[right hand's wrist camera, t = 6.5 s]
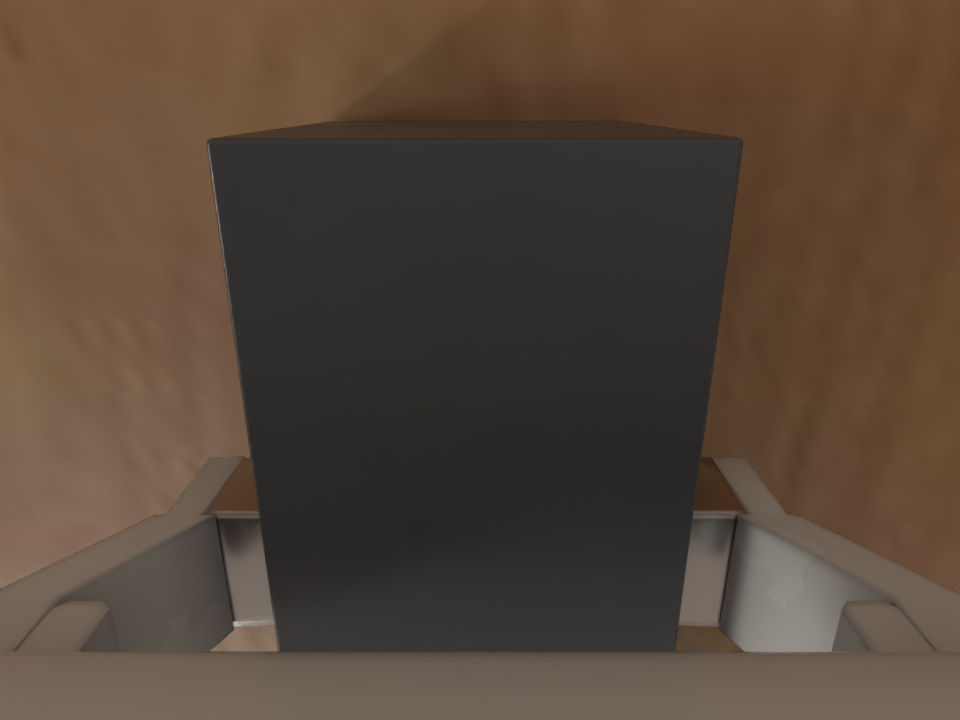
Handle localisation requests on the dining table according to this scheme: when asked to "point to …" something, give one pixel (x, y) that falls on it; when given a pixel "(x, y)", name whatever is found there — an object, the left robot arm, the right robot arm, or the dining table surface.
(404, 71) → the dining table surface
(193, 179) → the dining table surface
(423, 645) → the post
